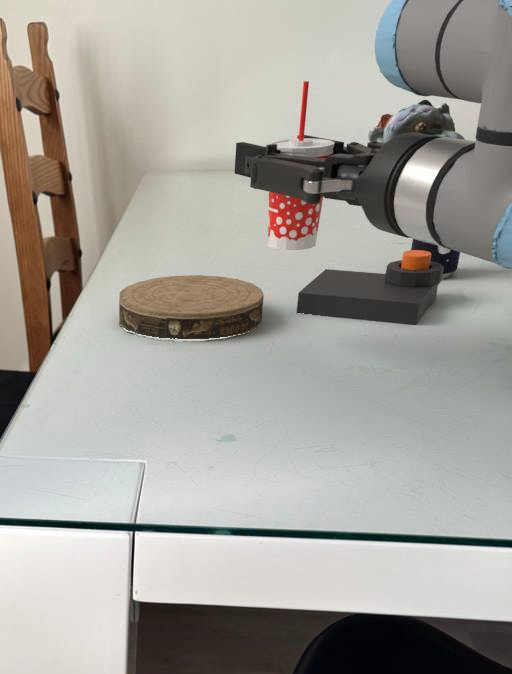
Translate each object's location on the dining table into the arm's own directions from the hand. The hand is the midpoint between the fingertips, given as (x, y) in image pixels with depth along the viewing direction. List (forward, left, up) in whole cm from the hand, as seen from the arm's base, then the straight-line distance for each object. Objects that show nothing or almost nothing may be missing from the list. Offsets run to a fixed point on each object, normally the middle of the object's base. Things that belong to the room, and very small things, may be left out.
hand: (269, 154), depth 98 cm
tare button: (-12, -18, -14) cm, 26 cm away
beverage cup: (-4, +3, -8) cm, 9 cm away
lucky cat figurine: (+4, -96, -18) cm, 98 cm away
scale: (-8, -14, -18) cm, 24 cm away
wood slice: (+8, -2, -18) cm, 20 cm away
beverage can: (-12, -30, -18) cm, 37 cm away
